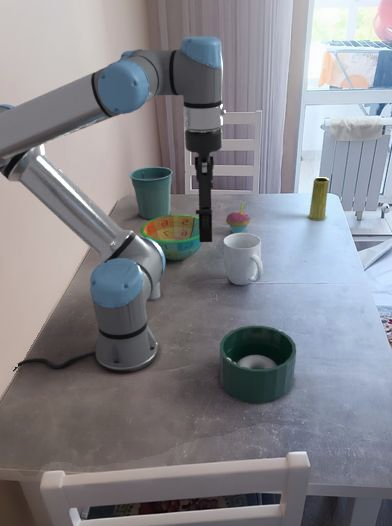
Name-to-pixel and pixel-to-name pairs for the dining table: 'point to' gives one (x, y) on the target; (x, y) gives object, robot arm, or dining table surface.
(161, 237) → the bowl
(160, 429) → the dining table surface
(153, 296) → the container
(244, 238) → the mug
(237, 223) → the cupcake
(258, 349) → the pot
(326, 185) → the vase
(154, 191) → the flower pot
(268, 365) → the donut
